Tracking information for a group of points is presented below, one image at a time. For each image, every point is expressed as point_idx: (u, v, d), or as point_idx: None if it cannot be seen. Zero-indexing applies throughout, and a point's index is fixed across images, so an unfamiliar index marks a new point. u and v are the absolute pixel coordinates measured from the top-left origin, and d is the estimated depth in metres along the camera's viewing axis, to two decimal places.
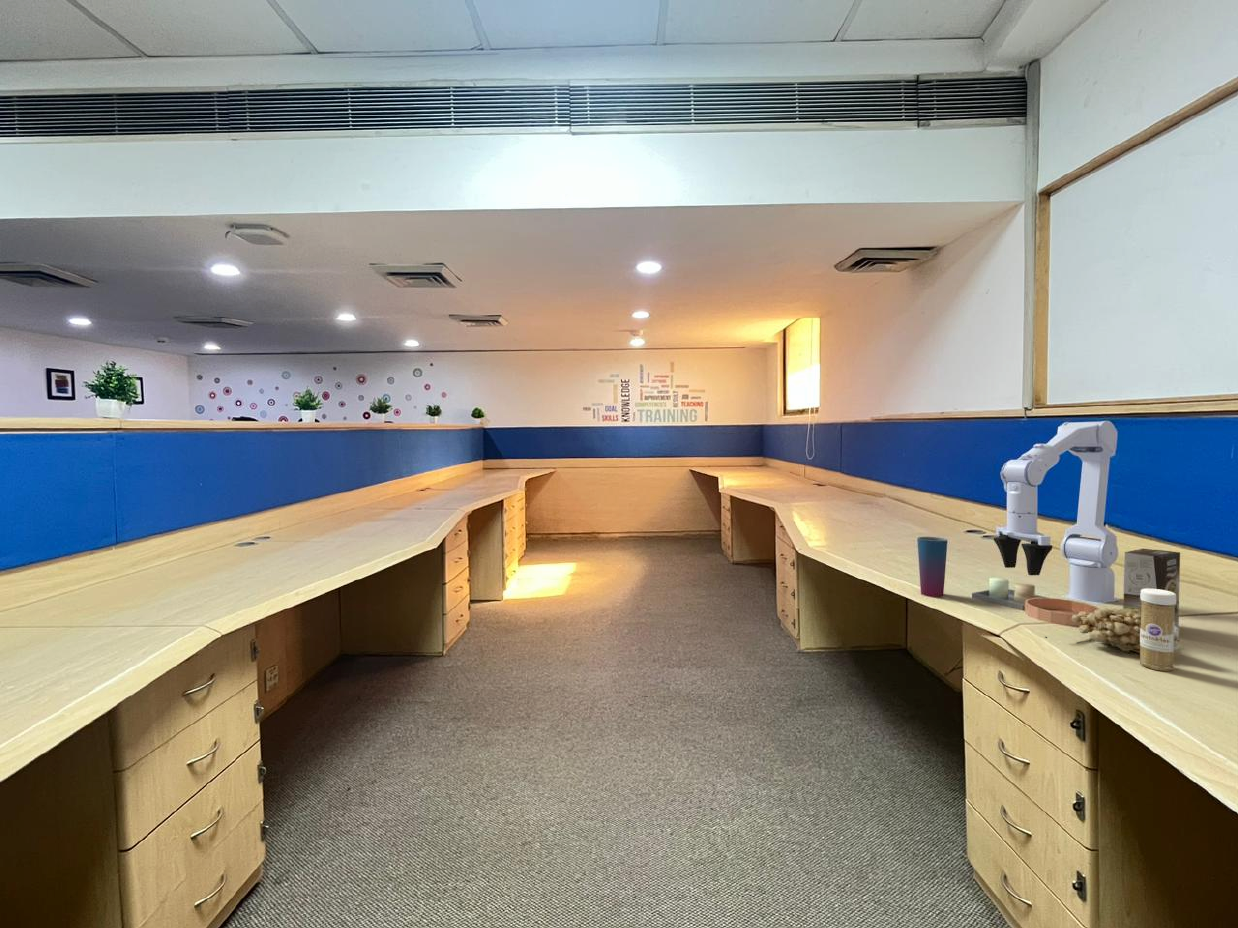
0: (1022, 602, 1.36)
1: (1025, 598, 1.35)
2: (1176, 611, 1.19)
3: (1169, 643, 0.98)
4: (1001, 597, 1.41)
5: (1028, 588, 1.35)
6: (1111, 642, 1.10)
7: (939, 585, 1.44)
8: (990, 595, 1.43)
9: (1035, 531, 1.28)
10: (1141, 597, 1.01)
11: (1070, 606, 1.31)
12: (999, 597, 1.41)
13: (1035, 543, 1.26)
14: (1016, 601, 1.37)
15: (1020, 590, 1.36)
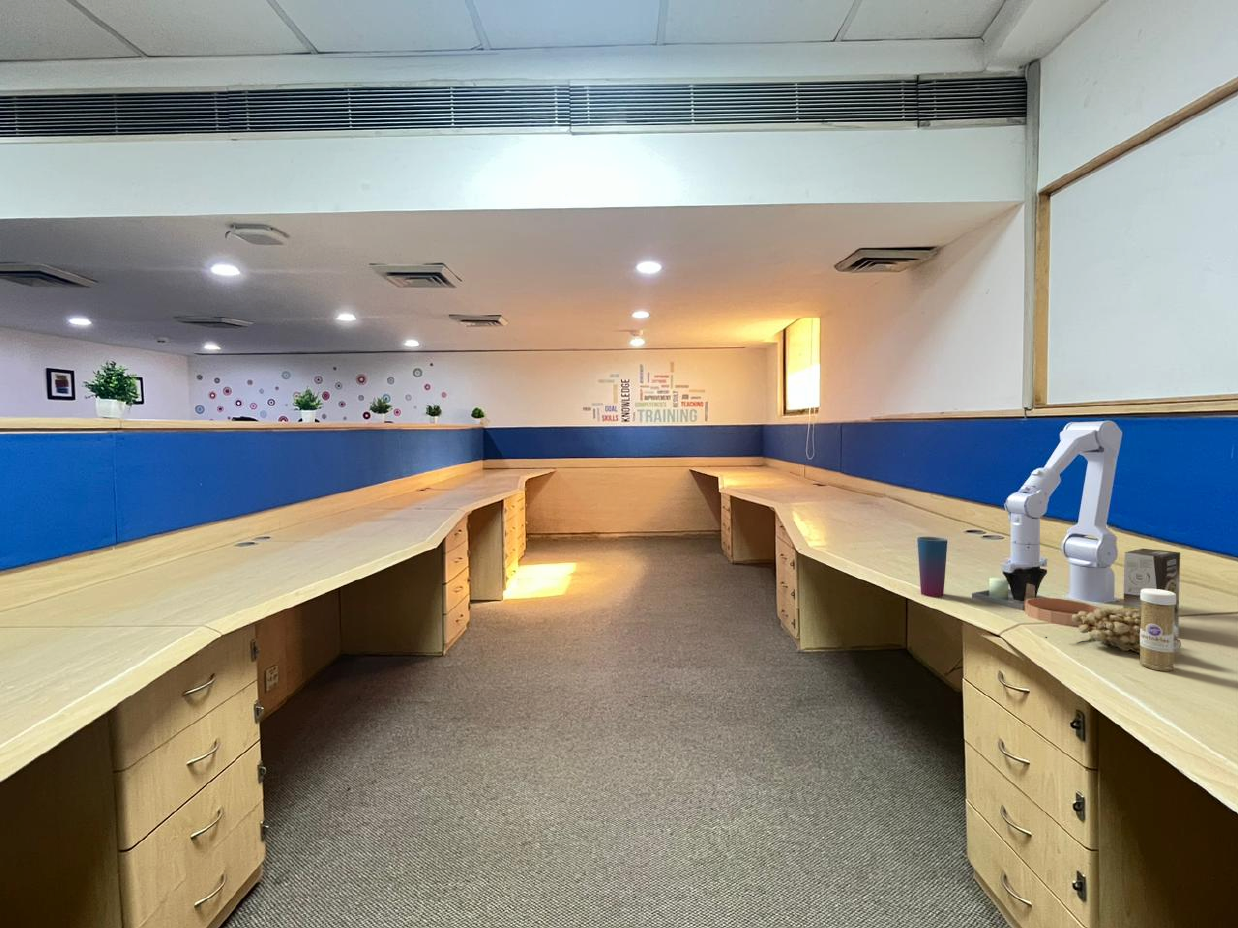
0: (1022, 602, 1.36)
1: (1025, 598, 1.35)
2: (1176, 611, 1.19)
3: (1169, 643, 0.98)
4: (1001, 597, 1.41)
5: (1028, 588, 1.35)
6: (1111, 642, 1.10)
7: (939, 585, 1.44)
8: (990, 595, 1.43)
9: (1024, 561, 1.35)
10: (1141, 597, 1.01)
11: (1070, 606, 1.31)
12: (999, 597, 1.41)
13: None
14: (1016, 601, 1.37)
15: None
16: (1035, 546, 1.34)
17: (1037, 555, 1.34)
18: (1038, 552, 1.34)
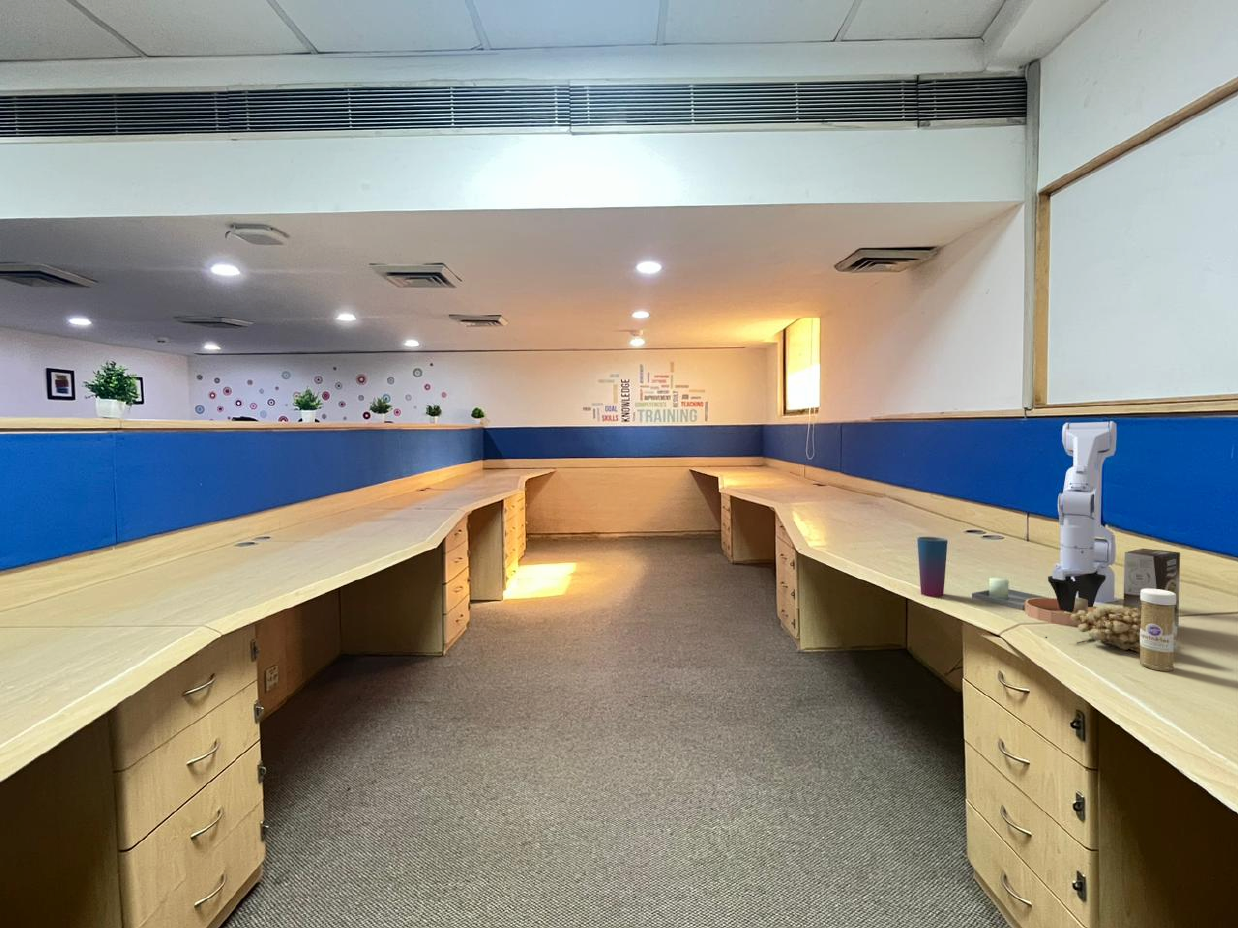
0: None
1: None
2: (1176, 611, 1.19)
3: (1169, 643, 0.98)
4: (1001, 597, 1.41)
5: (1080, 603, 1.22)
6: (1110, 641, 1.10)
7: (939, 585, 1.44)
8: (990, 595, 1.43)
9: (1077, 567, 1.22)
10: (1141, 597, 1.01)
11: None
12: (999, 597, 1.41)
13: None
14: None
15: None
16: (1090, 550, 1.21)
17: (1092, 560, 1.21)
18: (1093, 557, 1.22)
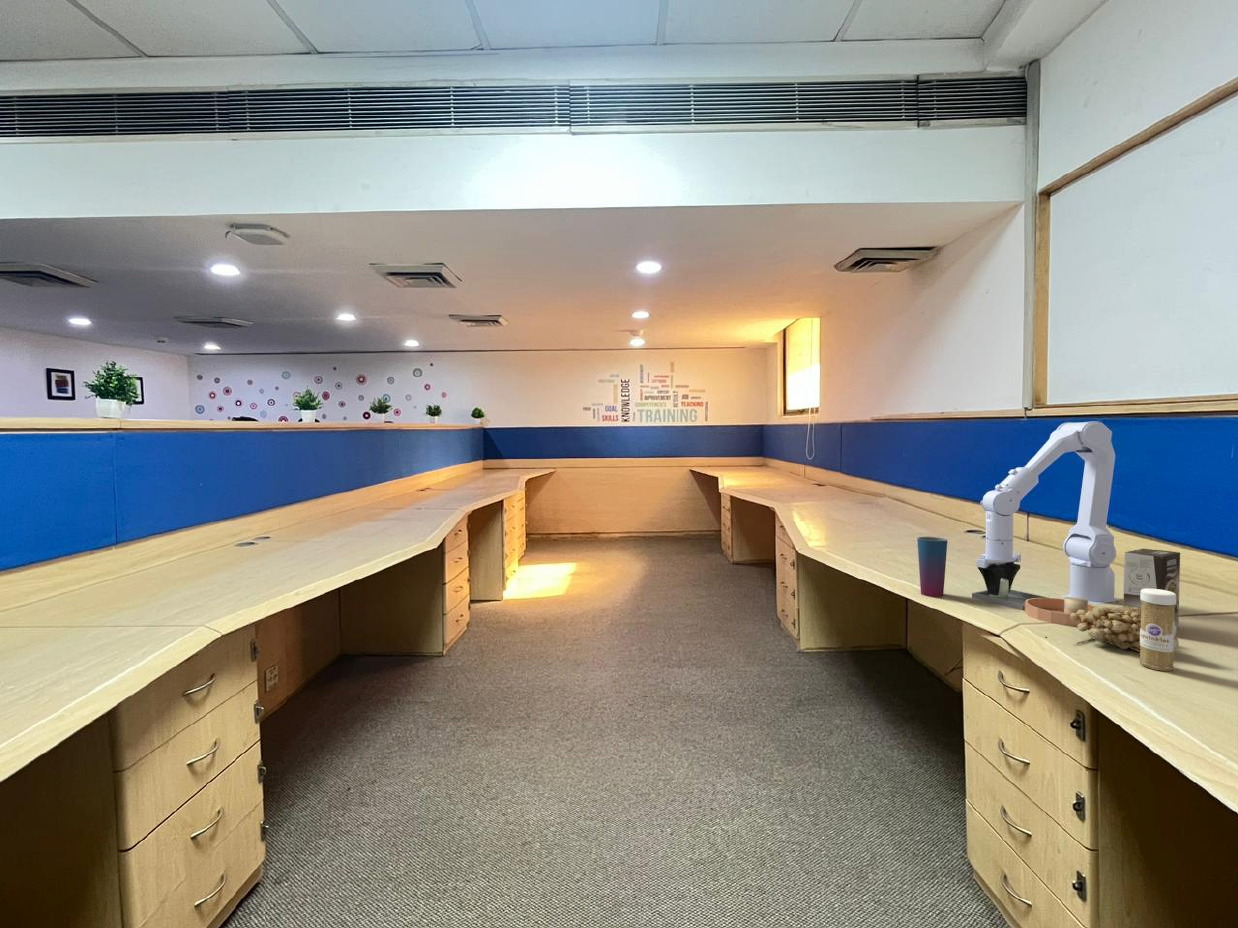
0: None
1: None
2: (1176, 611, 1.19)
3: (1169, 643, 0.98)
4: (1001, 597, 1.41)
5: (1081, 603, 1.22)
6: (1109, 640, 1.11)
7: (939, 585, 1.44)
8: (990, 595, 1.43)
9: (998, 557, 1.40)
10: (1141, 597, 1.01)
11: None
12: (999, 597, 1.41)
13: None
14: None
15: (1071, 606, 1.23)
16: (1008, 542, 1.39)
17: (1010, 551, 1.40)
18: (1011, 548, 1.40)
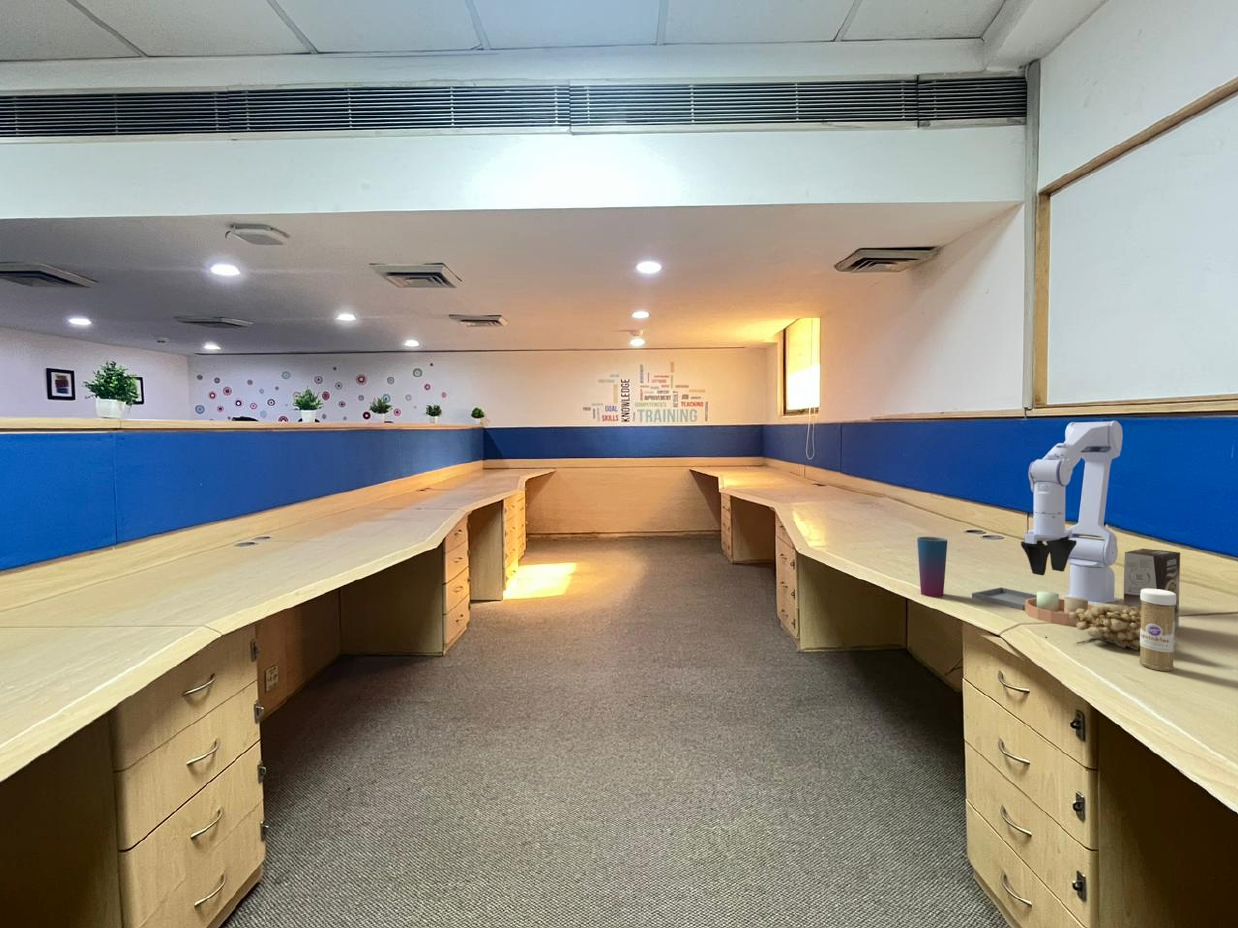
0: None
1: None
2: (1176, 611, 1.19)
3: (1169, 643, 0.98)
4: None
5: (1081, 603, 1.22)
6: (1108, 638, 1.12)
7: (939, 585, 1.44)
8: None
9: (1048, 532, 1.27)
10: (1141, 597, 1.01)
11: None
12: None
13: None
14: None
15: (1071, 606, 1.23)
16: (1060, 516, 1.26)
17: (1062, 525, 1.26)
18: (1063, 522, 1.26)
